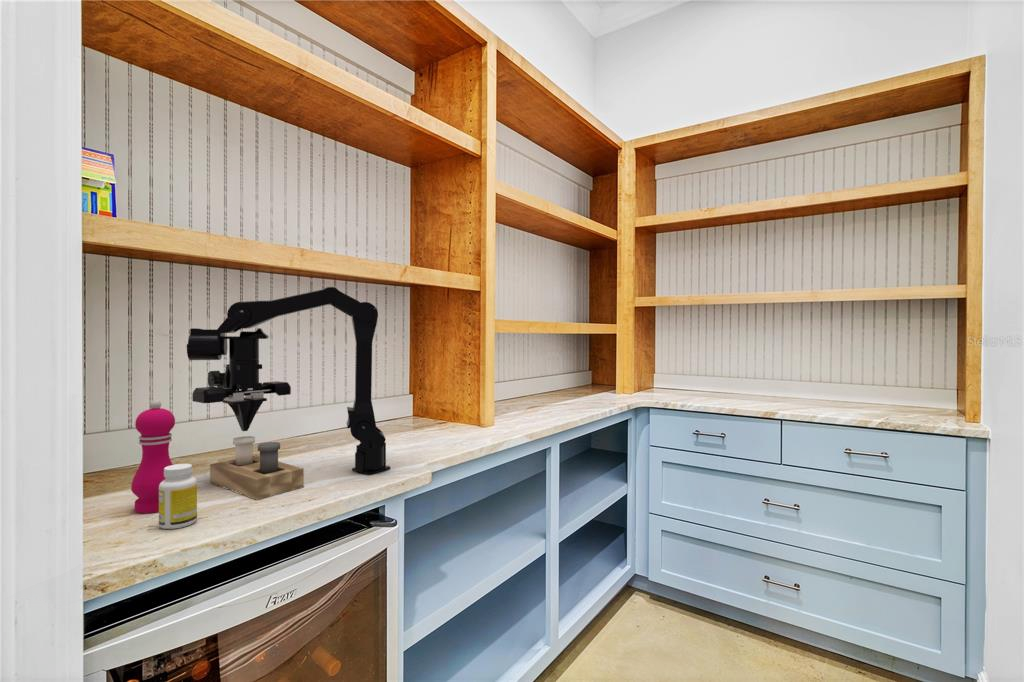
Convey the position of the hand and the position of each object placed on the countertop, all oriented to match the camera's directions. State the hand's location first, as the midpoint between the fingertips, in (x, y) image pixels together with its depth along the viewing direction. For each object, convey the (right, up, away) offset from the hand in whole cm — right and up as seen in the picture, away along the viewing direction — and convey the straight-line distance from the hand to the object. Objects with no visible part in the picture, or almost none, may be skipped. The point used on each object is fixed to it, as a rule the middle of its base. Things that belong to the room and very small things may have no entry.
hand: (244, 430), depth 109 cm
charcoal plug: (+8, -8, -6) cm, 12 cm away
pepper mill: (-7, -11, -17) cm, 22 cm away
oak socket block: (+4, -11, -3) cm, 12 cm away
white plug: (0, -7, 0) cm, 7 cm away
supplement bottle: (+2, -12, -24) cm, 27 cm away
